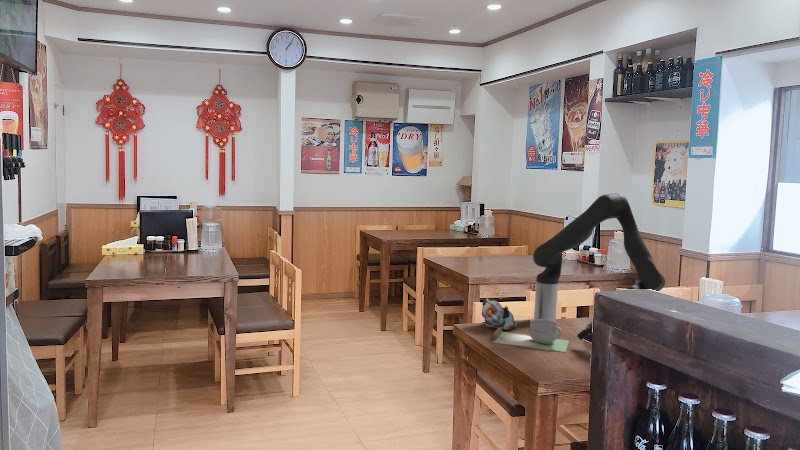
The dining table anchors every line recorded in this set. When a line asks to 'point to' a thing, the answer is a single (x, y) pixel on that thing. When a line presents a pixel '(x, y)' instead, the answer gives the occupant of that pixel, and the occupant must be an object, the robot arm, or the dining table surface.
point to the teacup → (544, 331)
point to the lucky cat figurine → (497, 315)
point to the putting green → (527, 341)
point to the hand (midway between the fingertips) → (578, 337)
